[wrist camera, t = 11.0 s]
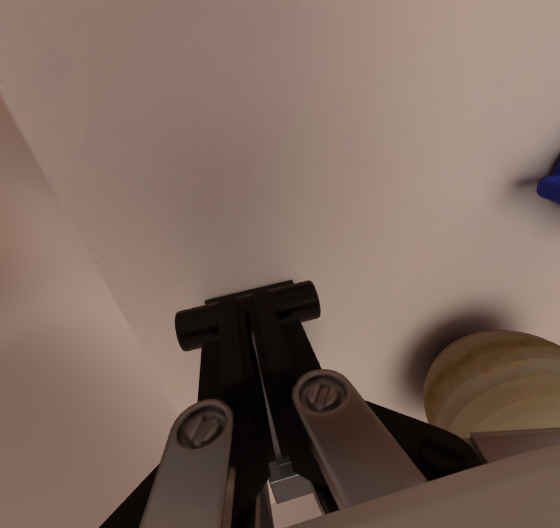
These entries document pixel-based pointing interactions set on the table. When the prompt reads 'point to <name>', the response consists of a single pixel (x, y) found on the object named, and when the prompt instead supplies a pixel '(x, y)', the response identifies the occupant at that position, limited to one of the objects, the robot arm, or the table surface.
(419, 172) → the table surface
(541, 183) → the mug
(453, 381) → the decorative ball
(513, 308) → the table surface
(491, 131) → the table surface
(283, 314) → the switch lever
